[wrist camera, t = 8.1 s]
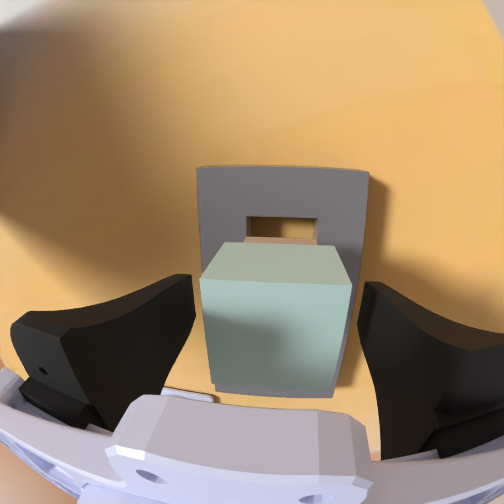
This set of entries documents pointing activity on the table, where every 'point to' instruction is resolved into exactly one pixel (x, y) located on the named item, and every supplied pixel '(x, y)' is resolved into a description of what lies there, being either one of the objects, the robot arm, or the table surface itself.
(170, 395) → the robot arm
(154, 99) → the table surface
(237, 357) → the plug
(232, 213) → the grey peg board
